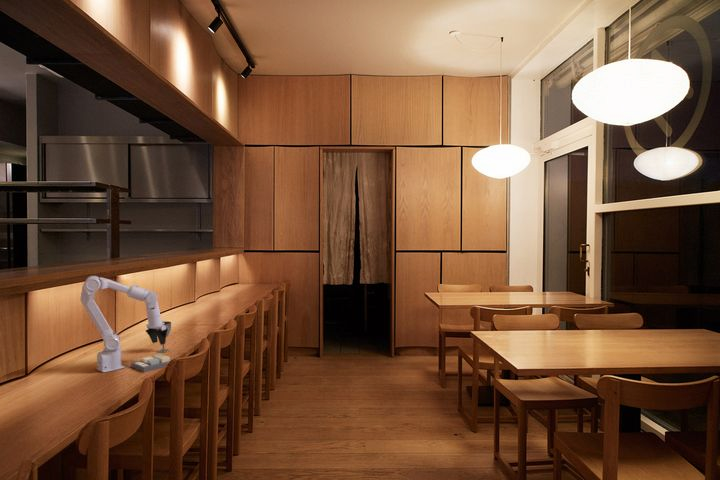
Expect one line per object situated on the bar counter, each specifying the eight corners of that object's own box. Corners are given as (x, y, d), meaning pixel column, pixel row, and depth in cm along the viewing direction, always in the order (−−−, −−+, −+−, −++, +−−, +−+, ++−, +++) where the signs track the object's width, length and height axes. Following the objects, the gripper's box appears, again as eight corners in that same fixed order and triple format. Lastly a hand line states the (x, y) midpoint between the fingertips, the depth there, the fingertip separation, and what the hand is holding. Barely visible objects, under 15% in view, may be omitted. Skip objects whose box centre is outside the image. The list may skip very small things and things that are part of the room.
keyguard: (144, 372, 204) (144, 367, 204) (131, 367, 212) (131, 362, 212) (174, 364, 216) (174, 359, 216) (161, 359, 223) (161, 355, 223)
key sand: (161, 363, 212) (161, 359, 212) (157, 361, 215) (157, 357, 215) (170, 361, 216) (169, 357, 216) (165, 359, 218) (165, 355, 218)
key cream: (145, 363, 212) (145, 359, 212) (141, 362, 214) (141, 358, 214) (153, 361, 215) (153, 357, 215) (149, 360, 217) (149, 356, 217)
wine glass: (151, 351, 238) (151, 323, 238) (164, 348, 245) (164, 320, 245) (162, 353, 234) (161, 325, 234) (174, 350, 241) (174, 322, 241)
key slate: (151, 366, 208) (151, 361, 208) (146, 364, 211) (146, 360, 211) (159, 364, 212) (159, 359, 211) (155, 362, 214) (155, 358, 214)
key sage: (156, 361, 216) (156, 357, 216) (152, 359, 218) (152, 355, 218) (164, 359, 219) (164, 355, 219) (160, 357, 221) (160, 353, 221)
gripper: (169, 314, 216) (174, 341, 218) (154, 312, 225) (159, 339, 227) (155, 319, 211) (160, 346, 212) (140, 317, 220) (145, 343, 221)
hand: (159, 343), depth 219 cm, fingers open, 7 cm apart
